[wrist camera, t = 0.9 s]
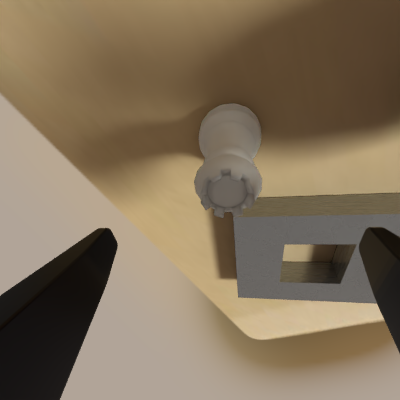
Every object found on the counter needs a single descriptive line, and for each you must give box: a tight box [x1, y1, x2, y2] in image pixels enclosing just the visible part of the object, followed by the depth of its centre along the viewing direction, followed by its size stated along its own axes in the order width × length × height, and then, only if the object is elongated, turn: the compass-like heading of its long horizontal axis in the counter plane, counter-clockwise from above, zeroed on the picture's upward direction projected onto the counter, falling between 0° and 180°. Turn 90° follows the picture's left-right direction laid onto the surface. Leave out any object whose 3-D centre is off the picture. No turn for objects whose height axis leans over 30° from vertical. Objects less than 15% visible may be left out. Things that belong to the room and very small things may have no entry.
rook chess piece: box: [194, 103, 262, 218], centre depth 13 cm, size 4×4×8 cm
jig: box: [233, 193, 400, 303], centre depth 21 cm, size 14×12×2 cm
